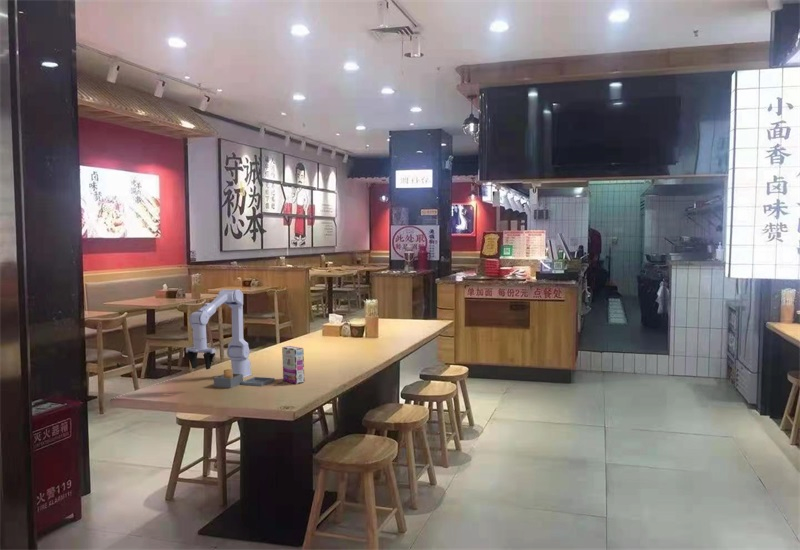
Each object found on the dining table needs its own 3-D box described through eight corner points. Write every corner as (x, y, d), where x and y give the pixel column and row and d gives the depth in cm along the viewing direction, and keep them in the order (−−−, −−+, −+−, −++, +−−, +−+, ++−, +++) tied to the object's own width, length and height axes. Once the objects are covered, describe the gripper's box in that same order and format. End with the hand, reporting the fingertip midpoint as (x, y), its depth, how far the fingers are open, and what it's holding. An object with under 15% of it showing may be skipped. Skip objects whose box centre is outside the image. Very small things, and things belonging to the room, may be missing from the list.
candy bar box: (305, 382, 287) (304, 347, 286) (296, 384, 283) (295, 349, 282) (291, 379, 294) (290, 345, 294) (282, 381, 291) (281, 346, 290)
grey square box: (226, 383, 289) (226, 373, 288) (243, 384, 285) (242, 374, 285) (214, 388, 280) (213, 377, 280) (231, 389, 277) (230, 378, 277)
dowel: (227, 384, 285) (227, 369, 285) (235, 384, 284) (234, 369, 283) (222, 386, 282) (221, 370, 281) (229, 386, 280) (229, 371, 280)
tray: (254, 380, 294) (254, 376, 293) (274, 381, 290) (274, 378, 290) (241, 385, 283) (241, 382, 283) (261, 387, 279) (261, 383, 279)
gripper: (180, 339, 273) (182, 369, 274) (207, 340, 268) (208, 371, 269) (191, 337, 280) (192, 366, 281) (217, 338, 275) (218, 367, 276)
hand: (201, 368), depth 275 cm, fingers open, 7 cm apart
